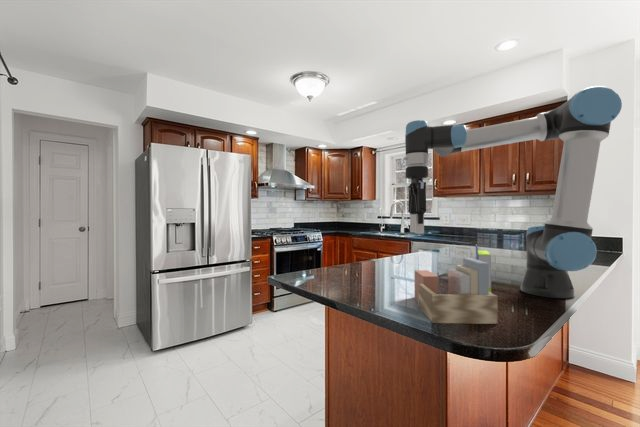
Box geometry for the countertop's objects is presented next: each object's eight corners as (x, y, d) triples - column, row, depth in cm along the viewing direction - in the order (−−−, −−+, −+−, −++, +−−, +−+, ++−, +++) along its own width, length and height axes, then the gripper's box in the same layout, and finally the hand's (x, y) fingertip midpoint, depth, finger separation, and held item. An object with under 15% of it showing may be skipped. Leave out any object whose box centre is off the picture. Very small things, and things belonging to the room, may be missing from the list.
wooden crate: (473, 307, 92) (473, 284, 92) (497, 323, 79) (497, 295, 79) (418, 307, 93) (418, 283, 93) (432, 323, 80) (432, 295, 80)
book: (428, 297, 104) (428, 270, 104) (438, 306, 94) (438, 276, 94) (414, 297, 104) (414, 270, 104) (423, 306, 94) (423, 276, 94)
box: (491, 304, 96) (491, 247, 96) (476, 303, 97) (476, 247, 97) (488, 296, 106) (488, 244, 106) (474, 294, 107) (474, 244, 107)
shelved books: (471, 310, 90) (471, 258, 90) (488, 322, 80) (488, 263, 80) (456, 310, 90) (456, 257, 90) (471, 321, 81) (470, 263, 81)
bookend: (455, 310, 90) (455, 268, 90) (469, 321, 81) (469, 274, 81) (448, 310, 90) (448, 268, 90) (461, 321, 81) (461, 274, 81)
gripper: (399, 170, 119) (399, 231, 120) (413, 162, 100) (413, 234, 100) (419, 170, 119) (419, 231, 119) (436, 162, 100) (437, 234, 100)
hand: (416, 232), depth 110 cm, fingers open, 6 cm apart
